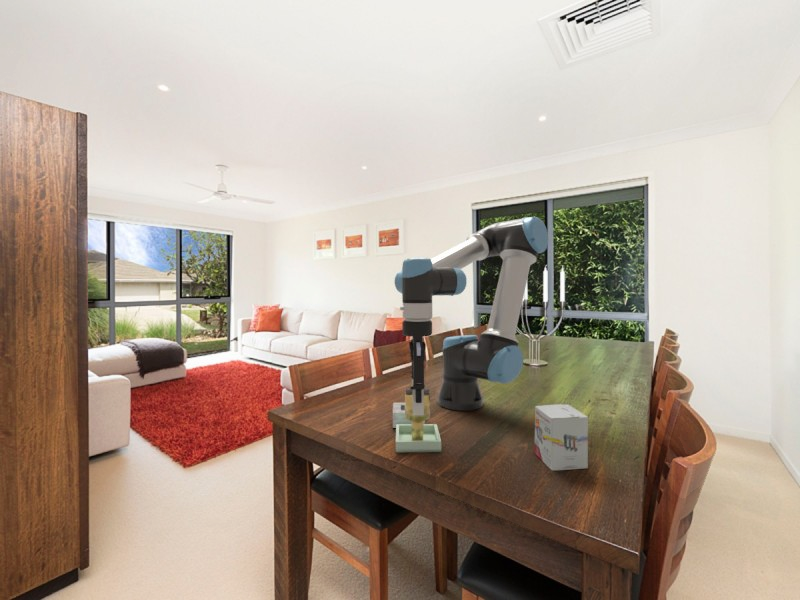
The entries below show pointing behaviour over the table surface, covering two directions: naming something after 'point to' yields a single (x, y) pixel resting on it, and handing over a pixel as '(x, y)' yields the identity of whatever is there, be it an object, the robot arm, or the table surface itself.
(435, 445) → the tray
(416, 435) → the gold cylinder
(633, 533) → the table surface
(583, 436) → the ink box
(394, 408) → the silver square block
